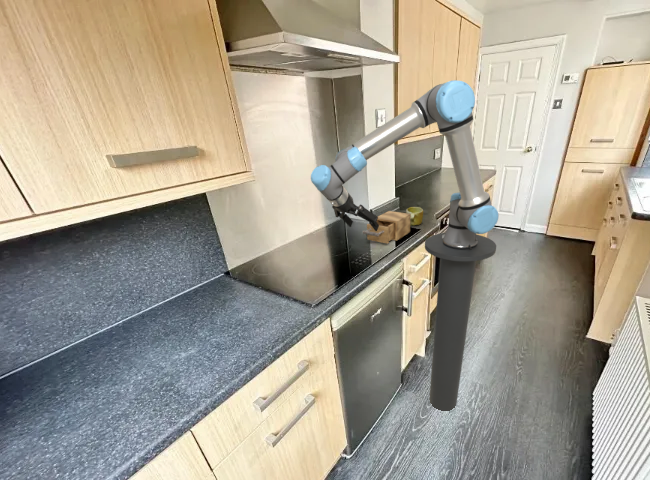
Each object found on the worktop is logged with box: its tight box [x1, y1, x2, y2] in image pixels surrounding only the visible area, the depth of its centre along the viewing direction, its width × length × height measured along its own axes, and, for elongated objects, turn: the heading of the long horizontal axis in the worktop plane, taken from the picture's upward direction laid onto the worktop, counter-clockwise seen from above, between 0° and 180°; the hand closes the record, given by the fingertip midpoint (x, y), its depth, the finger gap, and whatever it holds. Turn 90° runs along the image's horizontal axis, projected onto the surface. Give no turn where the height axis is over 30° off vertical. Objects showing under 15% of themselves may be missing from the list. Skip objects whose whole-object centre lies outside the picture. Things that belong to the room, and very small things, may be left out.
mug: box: [405, 206, 424, 227], centre depth 174 cm, size 12×10×10 cm
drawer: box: [362, 220, 395, 244], centre depth 152 cm, size 20×11×8 cm, turn 147°
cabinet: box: [377, 210, 411, 242], centre depth 160 cm, size 15×13×10 cm
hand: (364, 226), depth 138 cm, fingers open, 13 cm apart
